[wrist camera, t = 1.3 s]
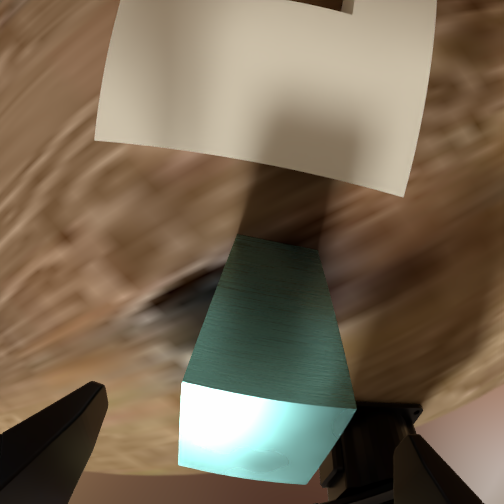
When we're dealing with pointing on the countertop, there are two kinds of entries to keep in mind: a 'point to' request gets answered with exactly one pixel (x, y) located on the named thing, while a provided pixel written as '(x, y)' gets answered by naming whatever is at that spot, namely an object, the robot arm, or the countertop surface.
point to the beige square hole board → (274, 83)
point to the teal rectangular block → (266, 369)
